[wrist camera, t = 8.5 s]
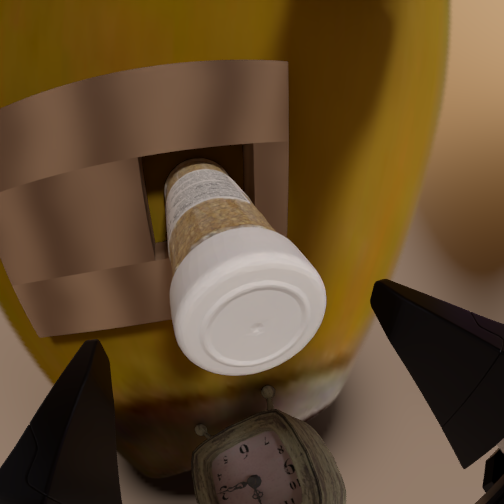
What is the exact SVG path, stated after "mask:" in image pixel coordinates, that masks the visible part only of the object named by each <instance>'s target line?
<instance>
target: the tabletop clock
mask: <svg viewBox="0 0 504 504" xmlns="http://www.w3.org/2000/svg"><path fill="white" fill-rule="evenodd" d="M261 394H262V396H263V397H264V398H267V411H263V412H260V413H257V414H255V415H252V416H250V417H248V418H246V419H244V420H242V421H240V422H238V423H235V424H233V425H231V426H229V427H227V428H226V429H224V430H222V431H221V432H219V433H217V434H216V435H214V436H211V435H210V434H208V433H207V428H206V426H205V425H202V424H199V425H197V426H196V427H195V432H196V434H197V435H199V436H203V435H205V437H206V438H207V440H206V441H204V442H203V443H201V444H200V445H199V446H198V447H197V448H196V449H195V450H194V451H193V452H192V460H191V471H192V479H193V485H194V490H195V496H196V500H197V503H198V504H346V490H345V485H344V482H343V479H342V476H341V474H340V471H339V470H338V467H337V465H336V462H335V460H334V457H333V456H332V454H331V453H330V451H329V449H328V448H327V446H326V445H325V443H324V442H323V440H322V439H321V437H320V436H319V435H318V433H317V432H316V431H315V430H314V429H313V428H312V427H311V426H309V425H308V424H307V423H305V422H303V421H301V420H299V419H297V418H294V417H292V416H290V415H288V414H286V413H283V412H281V411H279V410H277V409H274V406H273V403H272V399H271V398H272V397H274V395H275V389H274V388H273V387H272V386H269V385H268V386H265V387H263V389H262V391H261Z"/></svg>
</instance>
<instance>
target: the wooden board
mask: <svg viewBox="0 0 504 504" xmlns="http://www.w3.org/2000/svg"><path fill="white" fill-rule="evenodd" d="M236 144H243V170H244V193H245V194H246V195H247V196H248V197H249V198H250V200H251V202H252V203H253V205H254V206H255V207H256V208H257V210H258V211H259V212H260V213H261V214H262V215H263V216H264V217H265V219H266V221H267V222H268V223H269V224H270V225H271V227H272V228H273V229H274V230H275V231H276V232H277V233H279V234H281V235H283V236H284V237H286V238H287V219H288V169H289V87H288V61H272V60H216V61H198V62H185V63H175V64H166V65H158V66H151V67H144V68H138V69H132V70H126V71H121V72H116V73H111V74H107V75H102V76H98V77H93V78H89V79H85V80H82V81H78V82H74V83H71V84H67V85H64V86H60V87H57V88H54V89H51V90H48V91H45V92H42V93H39V94H36V95H33V96H31V97H28V98H25V99H23V100H20V101H18V102H15V103H13V104H10V105H8V106H5V107H3V108H1V109H0V258H1V260H2V263H3V265H4V268H5V270H6V272H7V275H8V277H9V279H10V281H11V284H12V286H13V288H14V290H15V292H16V294H17V297H18V299H19V301H20V303H21V305H22V307H23V309H24V311H25V312H26V314H27V316H28V318H29V320H30V322H31V324H32V325H33V327H34V329H35V331H36V333H37V334H38V336H39V337H48V336H57V335H66V334H74V333H82V332H90V331H98V330H105V329H112V328H119V327H126V326H133V325H139V324H145V323H152V322H158V321H164V320H170V319H172V316H171V308H170V286H171V282H172V277H173V276H172V266H171V261H170V258H169V252H168V241H164V242H158V243H155V239H154V234H153V228H152V223H151V217H150V211H149V205H148V199H147V193H146V186H145V180H144V172H143V165H142V156H148V155H154V154H160V153H167V152H174V151H181V150H189V149H197V148H205V147H215V146H225V145H236Z"/></svg>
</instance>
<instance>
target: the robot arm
mask: <svg viewBox="0 0 504 504" xmlns="http://www.w3.org/2000/svg"><path fill="white" fill-rule="evenodd" d="M370 304H371V307H372V309H373V311H374V313H375V314H376V316H377V318H378V320H379V322H380V324H381V326H382V328H383V330H384V332H385V334H386V336H387V337H388V339H389V341H390V343H391V344H392V346H393V347H394V349H395V350H396V352H397V354H398V355H399V357H400V358H401V360H402V362H403V363H404V365H405V366H406V368H407V370H408V371H409V373H410V375H411V376H412V378H413V379H414V381H415V383H416V384H417V386H418V388H419V389H420V391H421V392H422V394H423V396H424V398H425V400H426V401H427V403H428V405H429V406H430V408H431V410H432V412H433V413H434V415H435V417H436V419H437V420H438V422H439V424H440V426H441V427H442V430H443V432H444V433H445V435H446V437H447V439H448V441H449V443H450V445H451V446H452V448H453V450H454V452H455V454H456V456H457V458H458V460H459V461H460V464H461V466H462V467H463V469H466V468H467V467H469V466H470V465H471V464H473V463H474V462H475V461H477V460H478V459H479V458H480V457H482V456H483V455H484V454H486V453H487V452H488V451H489V450H491V449H492V448H493V447H494V446H496V445H498V447H499V448H498V449H497V450H496V451H495V452H494V453H493V454H492V455H491V456H490V458H488V459H487V460H486V465H485V474H484V480H483V489H484V490H485V492H486V494H484V495H483V496H482V497H481V498H480V499H479V500H478V501H477V502H476V503H475V504H504V324H502V323H499V322H496V321H493V320H490V319H488V318H485V317H483V316H480V315H477V314H475V313H473V312H470V311H467V310H465V309H462V308H460V307H457V306H455V305H452V304H450V303H447V302H445V301H442V300H439V299H437V298H434V297H432V296H429V295H427V294H424V293H421V292H419V291H417V290H414V289H411V288H409V287H406V286H403V285H401V284H398V283H395V282H393V281H390V280H388V279H382V280H379V281H376V282H375V284H374V287H373V291H372V295H371V299H370ZM0 504H122V500H121V492H120V484H119V475H118V465H117V452H116V435H115V409H114V399H113V391H112V382H111V372H110V362H109V359H108V356H107V354H106V352H105V351H104V349H103V347H102V345H101V343H100V341H99V340H97V339H94V340H87V341H85V342H84V343H83V345H82V346H81V347H80V349H79V350H78V352H77V353H76V354H75V356H74V357H73V359H72V360H71V361H70V363H69V364H68V366H67V367H66V368H65V370H64V371H63V373H62V374H61V376H60V377H59V379H58V380H57V382H56V383H55V384H54V386H53V387H52V389H51V391H50V392H49V394H48V395H47V396H46V398H45V400H44V401H43V403H42V404H41V406H40V407H39V409H38V410H37V412H36V414H35V415H34V417H33V419H32V420H31V422H30V425H28V426H27V428H26V430H25V431H24V433H23V435H22V436H21V438H20V439H19V441H18V443H17V444H16V446H15V447H14V449H13V450H12V452H11V453H10V455H9V456H8V458H7V459H6V460H5V462H4V463H3V465H2V466H1V468H0Z"/></svg>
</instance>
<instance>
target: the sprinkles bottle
mask: <svg viewBox="0 0 504 504" xmlns="http://www.w3.org/2000/svg"><path fill="white" fill-rule="evenodd" d="M164 197H165V202H166V224H167V238H168V252H169V258H170V261H171V266H172V276H173V277H172V282H171V286H170V308H171V316H172V322H173V327H174V332H175V337H176V340H177V343H178V345H179V347H180V348H181V350H182V352H183V353H184V354H185V356H186V357H187V358H188V359H189V360H190V361H191V362H193V363H194V364H195V365H197V366H199V367H200V368H202V369H204V370H207V371H209V372H213V373H216V374H221V375H230V376H239V375H249V374H255V373H259V372H263V371H265V370H268V369H271V368H273V367H275V366H278V365H280V364H282V363H283V362H285V361H287V360H288V359H290V358H291V357H293V356H294V355H295V354H297V353H298V352H299V351H300V350H302V349H303V348H304V347H305V345H306V344H307V343H308V342H309V341H310V340H311V339H312V337H313V336H314V335H315V333H316V331H317V330H318V328H319V326H320V324H321V322H322V320H323V316H324V313H325V308H326V291H325V287H324V284H323V281H322V279H321V277H320V275H319V274H318V272H317V271H316V269H315V268H314V267H313V266H312V264H311V263H310V262H309V261H308V260H307V258H306V257H305V256H304V255H303V254H302V253H301V252H300V250H299V249H298V248H297V247H296V246H295V245H294V244H293V243H292V242H291V241H290V240H289V239H287V238H286V237H284V236H283V235H281V234H279V233H277V232H276V231H275V230H274V229H273V228H272V227H271V225H270V224H269V223H268V222H267V221H266V219H265V217H264V216H263V215H262V214H261V213H260V212H259V211H258V210H257V208H256V207H255V206H254V205H253V203H252V202H251V200H250V198H249V197H248V196H247V195H246V194H245V193H244V192H243V191H242V189H241V188H240V187H239V186H238V185H237V184H236V183H235V182H234V181H233V179H231V178H230V177H229V176H228V174H227V172H226V171H225V170H224V169H223V168H222V167H221V166H220V165H219V164H217V163H216V162H214V161H211V160H208V159H205V158H194V159H190V160H186V161H184V162H182V163H180V164H179V165H177V166H176V167H175V168H174V169H173V170H172V171H171V173H170V174H169V176H168V178H167V180H166V183H165V187H164Z"/></svg>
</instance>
